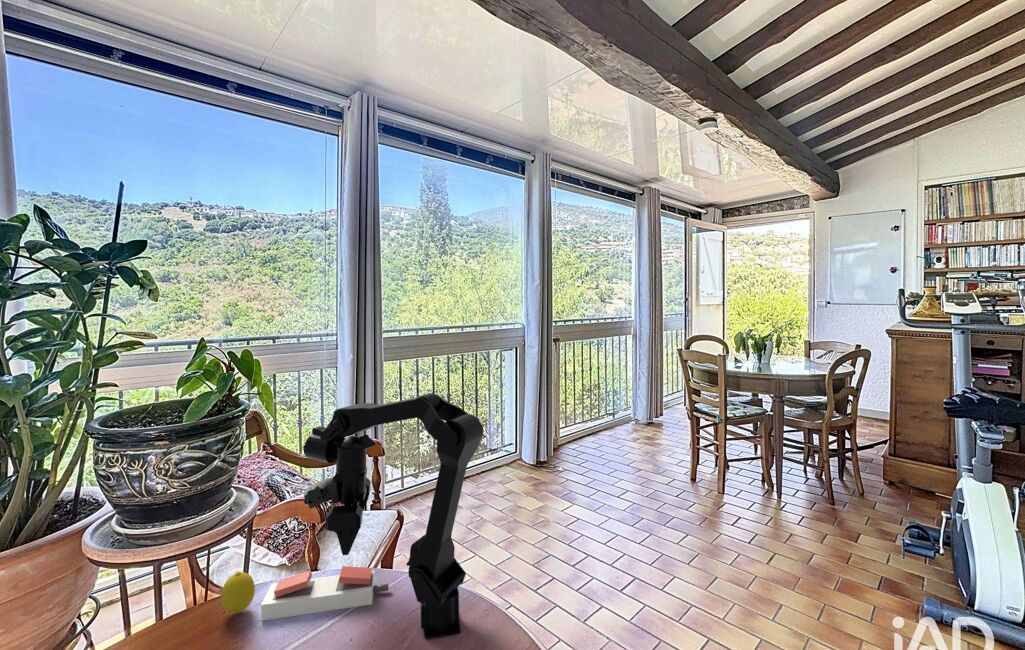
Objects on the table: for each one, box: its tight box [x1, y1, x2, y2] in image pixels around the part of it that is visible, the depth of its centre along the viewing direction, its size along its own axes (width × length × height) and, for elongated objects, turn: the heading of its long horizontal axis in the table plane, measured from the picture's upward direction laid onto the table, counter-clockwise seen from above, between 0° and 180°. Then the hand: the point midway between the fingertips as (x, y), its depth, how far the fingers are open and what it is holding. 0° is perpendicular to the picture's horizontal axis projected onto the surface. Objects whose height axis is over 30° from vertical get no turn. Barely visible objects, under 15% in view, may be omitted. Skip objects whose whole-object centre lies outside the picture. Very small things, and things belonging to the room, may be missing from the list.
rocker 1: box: [274, 569, 313, 598], centre depth 90 cm, size 6×4×1 cm, turn 103°
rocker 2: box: [339, 565, 373, 585], centre depth 93 cm, size 6×4×1 cm, turn 103°
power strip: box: [260, 570, 389, 622], centre depth 92 cm, size 23×7×3 cm, turn 103°
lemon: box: [220, 571, 256, 615], centre depth 88 cm, size 6×6×8 cm
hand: (349, 542), depth 93 cm, fingers open, 9 cm apart
